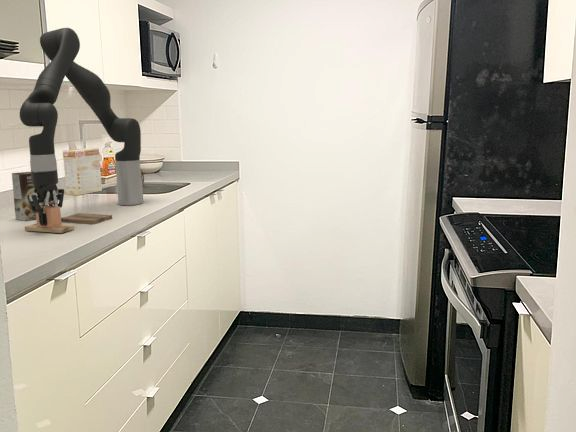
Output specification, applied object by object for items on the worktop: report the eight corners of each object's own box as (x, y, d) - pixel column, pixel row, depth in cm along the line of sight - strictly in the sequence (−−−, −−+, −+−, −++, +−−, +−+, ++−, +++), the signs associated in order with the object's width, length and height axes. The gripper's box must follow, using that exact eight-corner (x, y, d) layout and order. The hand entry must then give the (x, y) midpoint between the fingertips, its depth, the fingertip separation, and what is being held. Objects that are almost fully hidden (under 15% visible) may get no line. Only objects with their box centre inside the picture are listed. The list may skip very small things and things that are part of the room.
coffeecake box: (91, 190, 272) (88, 147, 268) (102, 191, 268) (99, 148, 265) (65, 194, 259) (61, 150, 255) (77, 195, 255) (73, 150, 252)
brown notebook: (78, 216, 207) (78, 212, 207) (112, 218, 202) (112, 214, 202) (59, 221, 198) (58, 218, 198) (93, 224, 193) (93, 220, 193)
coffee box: (24, 221, 200) (19, 174, 197) (15, 219, 204) (10, 173, 201) (49, 217, 207) (45, 171, 204) (40, 215, 211) (36, 170, 208)
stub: (38, 226, 189) (36, 204, 188) (74, 229, 185) (72, 206, 183) (24, 230, 184) (22, 207, 182) (61, 233, 179) (59, 209, 178)
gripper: (50, 166, 188) (55, 219, 192) (16, 171, 175) (22, 227, 179) (69, 166, 186) (74, 220, 189) (36, 172, 173) (42, 229, 176)
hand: (49, 223), depth 184 cm, fingers closed on stub, 4 cm apart
